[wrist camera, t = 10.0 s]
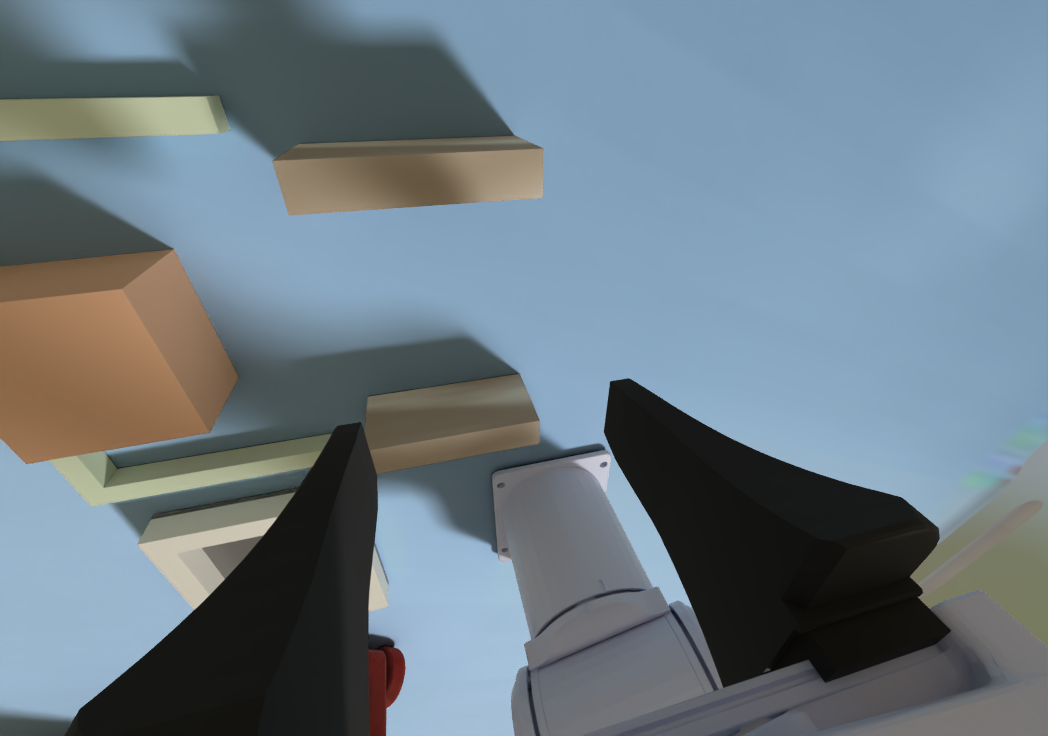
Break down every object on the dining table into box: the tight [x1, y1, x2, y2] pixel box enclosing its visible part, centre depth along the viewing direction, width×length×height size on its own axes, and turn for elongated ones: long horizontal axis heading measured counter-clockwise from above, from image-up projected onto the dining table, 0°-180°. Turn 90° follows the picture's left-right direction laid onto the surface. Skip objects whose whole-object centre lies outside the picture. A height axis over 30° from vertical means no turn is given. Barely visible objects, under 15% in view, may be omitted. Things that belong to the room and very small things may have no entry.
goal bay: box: [0, 96, 332, 506], centre depth 17 cm, size 16×11×1 cm
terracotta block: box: [0, 249, 239, 464], centre depth 16 cm, size 6×6×4 cm
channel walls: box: [272, 136, 543, 474], centre depth 18 cm, size 13×8×4 cm, turn 1°
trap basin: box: [137, 488, 388, 611], centre depth 26 cm, size 11×10×2 cm
